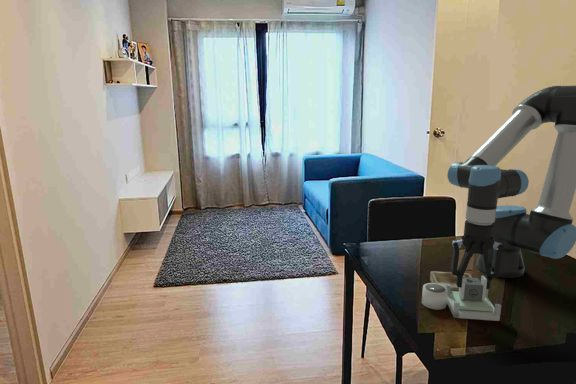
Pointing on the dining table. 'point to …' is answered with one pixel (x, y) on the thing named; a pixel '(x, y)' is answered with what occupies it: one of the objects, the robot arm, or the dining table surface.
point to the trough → (446, 279)
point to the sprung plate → (472, 303)
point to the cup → (434, 296)
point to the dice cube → (473, 289)
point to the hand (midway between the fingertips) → (471, 297)
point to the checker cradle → (472, 313)
